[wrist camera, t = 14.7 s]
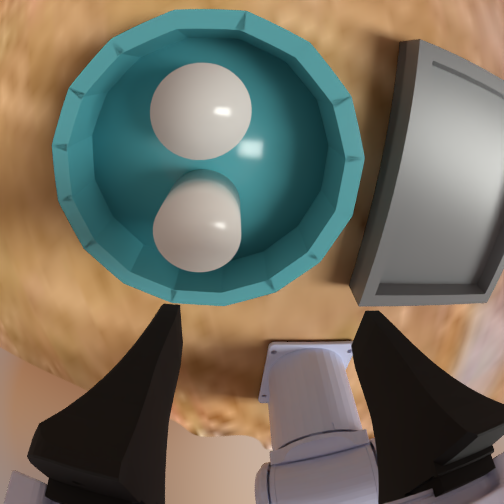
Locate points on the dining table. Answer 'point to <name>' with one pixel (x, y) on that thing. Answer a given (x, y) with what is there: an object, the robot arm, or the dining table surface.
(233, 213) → the stone
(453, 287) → the tray
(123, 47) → the bowl
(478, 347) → the dining table surface
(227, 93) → the stone
